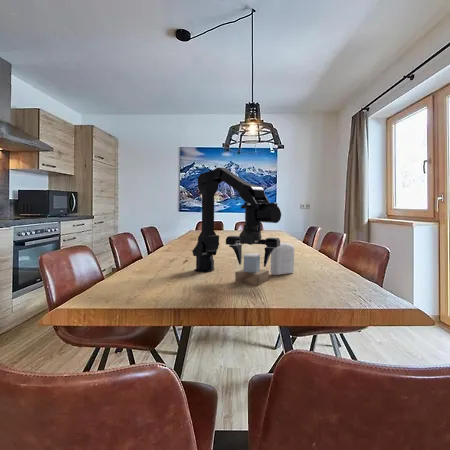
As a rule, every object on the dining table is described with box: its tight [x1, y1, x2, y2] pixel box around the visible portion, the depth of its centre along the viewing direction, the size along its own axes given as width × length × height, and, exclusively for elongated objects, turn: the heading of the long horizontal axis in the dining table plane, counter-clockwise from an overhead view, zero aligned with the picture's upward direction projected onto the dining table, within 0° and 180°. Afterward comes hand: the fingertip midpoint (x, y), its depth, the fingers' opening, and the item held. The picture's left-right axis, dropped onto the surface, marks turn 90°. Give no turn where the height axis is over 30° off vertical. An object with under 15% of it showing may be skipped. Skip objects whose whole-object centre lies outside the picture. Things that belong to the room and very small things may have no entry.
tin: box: [242, 252, 261, 273], centre depth 121 cm, size 5×5×6 cm
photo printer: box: [270, 242, 295, 276], centre depth 135 cm, size 10×4×12 cm, turn 123°
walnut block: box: [234, 268, 270, 286], centre depth 121 cm, size 9×9×4 cm
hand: (252, 265), depth 121 cm, fingers open, 9 cm apart
